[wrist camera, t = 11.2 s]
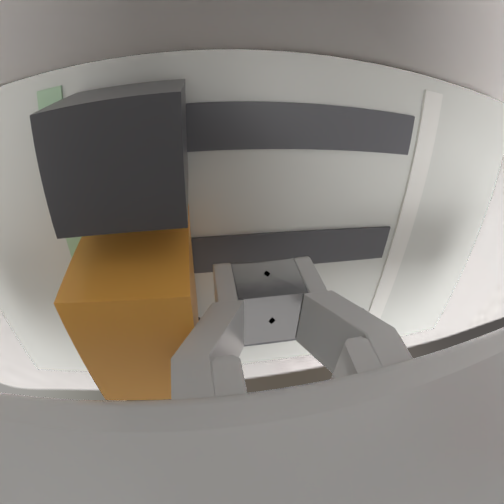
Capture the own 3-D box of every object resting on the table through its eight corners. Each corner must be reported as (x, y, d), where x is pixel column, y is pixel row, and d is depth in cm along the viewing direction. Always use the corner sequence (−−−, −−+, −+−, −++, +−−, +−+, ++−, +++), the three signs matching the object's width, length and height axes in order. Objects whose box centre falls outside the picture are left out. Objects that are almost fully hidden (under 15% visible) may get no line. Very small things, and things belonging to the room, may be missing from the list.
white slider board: (491, 97, 10) (568, 133, 7) (422, 311, 18) (459, 368, 14) (-44, 104, 7) (-125, 147, 3) (44, 348, 14) (25, 420, 11)
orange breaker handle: (188, 204, 10) (190, 296, 6) (197, 302, 12) (205, 397, 9) (93, 212, 9) (53, 303, 6) (118, 307, 11) (105, 400, 8)
